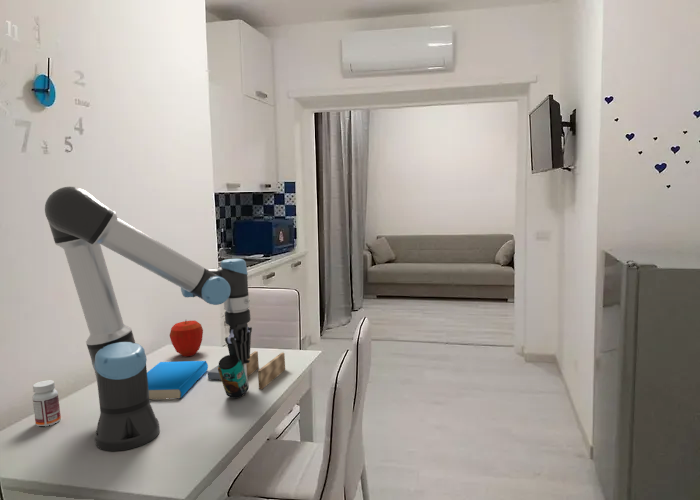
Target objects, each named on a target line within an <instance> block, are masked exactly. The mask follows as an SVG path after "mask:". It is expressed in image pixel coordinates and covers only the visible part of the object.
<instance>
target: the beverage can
mask: <svg viewBox="0 0 700 500" xmlns="http://www.w3.org/2000/svg"><path fill="white" fill-rule="evenodd" d="M218 365H219V366H218ZM218 365H217V366H218V372H219V375H220V378H221V380H220V381H221V383H222V386H223V388H224V391H225V392H224V393H225V395H226V396H227V397H228V398H231V399H238V398H241V397H243V396H245V394H247V392H248V391H249V387H250V385H249V380H248V377H247V378H246V375H245V371H244V368H243V365H242V362H241V360H240V359H238V357H237V356H235V355H229V354H227V355H225V356H222V357H221V359H219V361H218ZM247 380H248V381H247Z"/></svg>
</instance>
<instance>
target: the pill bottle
mask: <svg viewBox="0 0 700 500" xmlns="http://www.w3.org/2000/svg"><path fill="white" fill-rule="evenodd" d="M32 390H33V391H32V392H33V393H34V394H33V395H32V404H33V405H32V406H33V412H34V413H33V414H34V421H35V425H36V426H37V427H39V426H45V427H50V426H53V425H56V424H57V423H59V422H60V421H61V419H62V415H61V414H62V413H61V407H60V401H59V392H58V390H57V389H56V386H55V381H54V380H52V379H48V380H42V381H38V382H36V383H34V384H33V385H32ZM55 423H56V424H55ZM49 425H50V426H49Z"/></svg>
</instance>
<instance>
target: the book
mask: <svg viewBox="0 0 700 500" xmlns="http://www.w3.org/2000/svg"><path fill="white" fill-rule="evenodd" d="M208 369H209V365H208V362H207V361H206V360H190V361H189V360H188V361H187V360H186V361H159V362H158V363H157V364H156V365H154V366H153V367H152V368H151V369H149V370H147V378H148V389H149V399H153V400H167V399H166V398H169V399H168V400H171V399H170V398H182V397H183V396H185V394H186V393H187V392H188V391H189V390H190V389H191V388H192V387H193V386H194V385H195V384H196V383H197V382H198V381H199V380H200V378H202V377H203V375H204V374H206V372H208ZM197 380H198V381H197ZM196 381H197V382H196ZM195 382H196V383H195ZM194 383H195V384H194ZM193 384H194V385H193Z"/></svg>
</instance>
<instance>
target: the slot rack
mask: <svg viewBox="0 0 700 500" xmlns="http://www.w3.org/2000/svg"><path fill="white" fill-rule="evenodd" d="M285 357H286V356H285V352H280V353H279V354H278V355H276V356H275V357H274V358H272V359H271V360H270V361H268V362H267V363H266V364H264V365H263V366H262V367H260V365H259V352H258V350H257V351H256V350H255V351H252V352H251V353H250V358H249V359H247V360H250V362H249V363H246V366H247V378H248V377H249V376H250V375H252V374H253V373H254V372H255V371H257V379H258V389H259V390H263V389H264V388H266V387H267V386H268V385H269V384H270V383H272V382H273V381H274V380H275V379H276V378H277V377H279V375H281V374H282V373H283V372H285V371H286V360H285V359H286V358H285Z"/></svg>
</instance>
